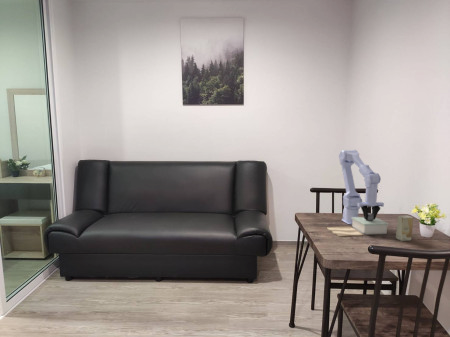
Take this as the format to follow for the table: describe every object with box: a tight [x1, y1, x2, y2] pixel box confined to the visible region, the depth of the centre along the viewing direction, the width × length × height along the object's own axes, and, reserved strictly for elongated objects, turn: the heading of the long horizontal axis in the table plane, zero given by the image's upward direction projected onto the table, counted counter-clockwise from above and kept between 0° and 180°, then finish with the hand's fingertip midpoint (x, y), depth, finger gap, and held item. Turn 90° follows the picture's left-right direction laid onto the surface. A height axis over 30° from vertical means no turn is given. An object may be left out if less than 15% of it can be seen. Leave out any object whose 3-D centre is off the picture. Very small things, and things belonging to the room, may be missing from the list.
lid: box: [351, 212, 389, 226], centre depth 193 cm, size 14×14×5 cm
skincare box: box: [395, 214, 414, 242], centre depth 179 cm, size 6×4×12 cm
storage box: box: [351, 220, 388, 236], centre depth 194 cm, size 13×13×5 cm
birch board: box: [326, 226, 364, 238], centre depth 191 cm, size 15×14×1 cm
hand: (369, 219), depth 194 cm, fingers closed on lid, 4 cm apart
